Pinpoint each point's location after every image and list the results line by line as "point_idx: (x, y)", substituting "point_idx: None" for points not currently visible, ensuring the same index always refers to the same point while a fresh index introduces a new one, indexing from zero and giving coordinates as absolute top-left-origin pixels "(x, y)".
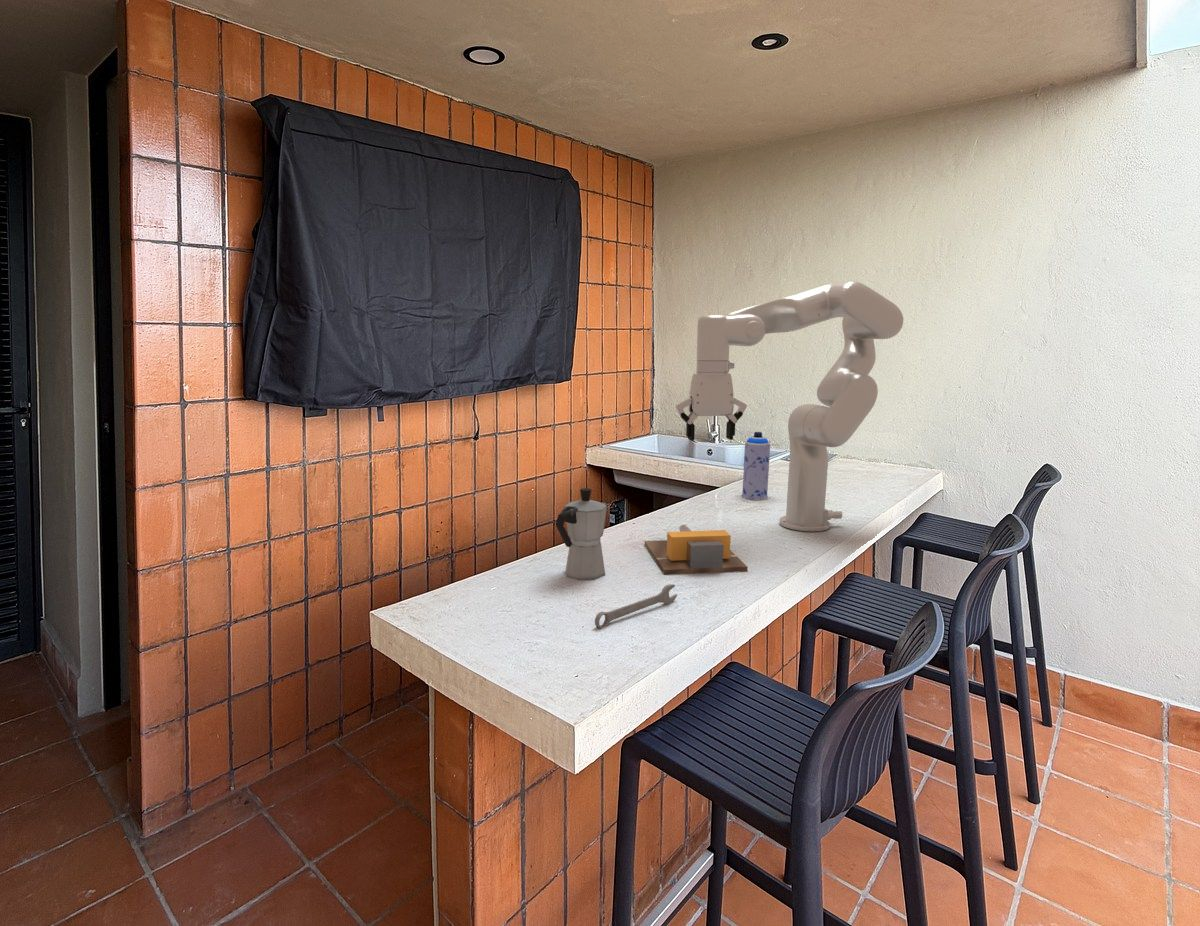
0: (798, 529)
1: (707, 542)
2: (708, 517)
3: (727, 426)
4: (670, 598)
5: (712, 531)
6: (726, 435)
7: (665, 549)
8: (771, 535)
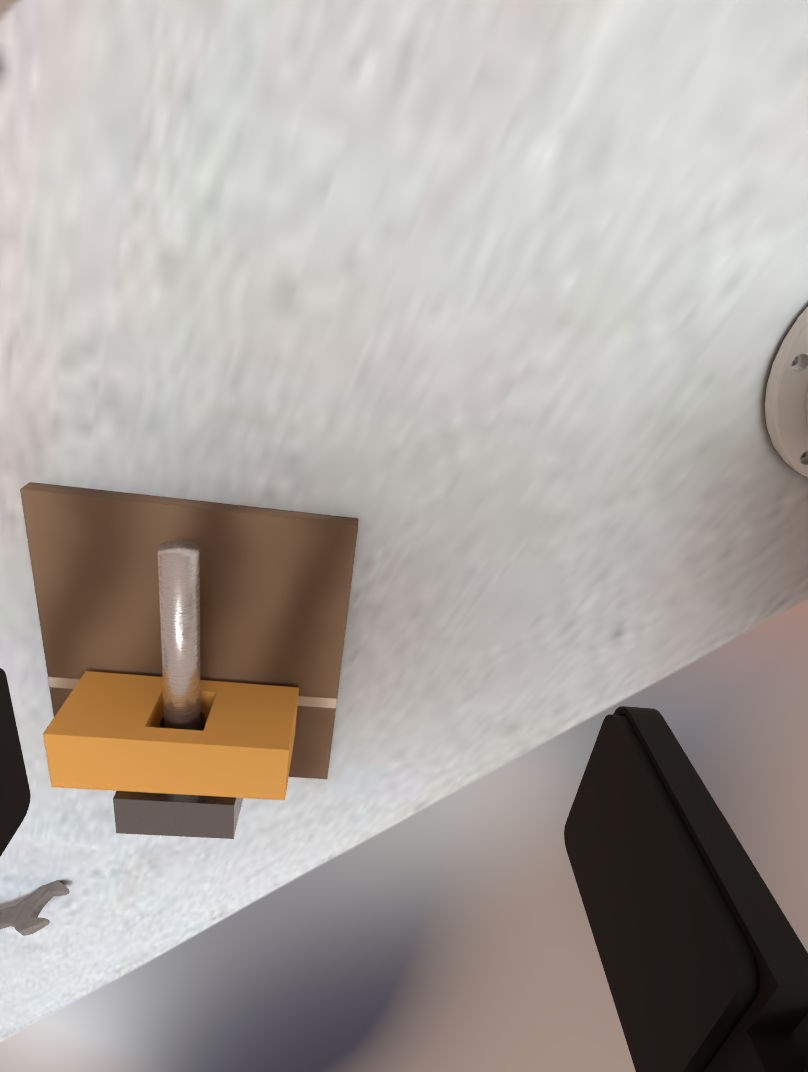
0: (780, 455)
1: (184, 815)
2: (514, 57)
3: (675, 926)
4: (49, 899)
5: (232, 756)
6: (618, 741)
7: (97, 603)
8: (626, 478)
